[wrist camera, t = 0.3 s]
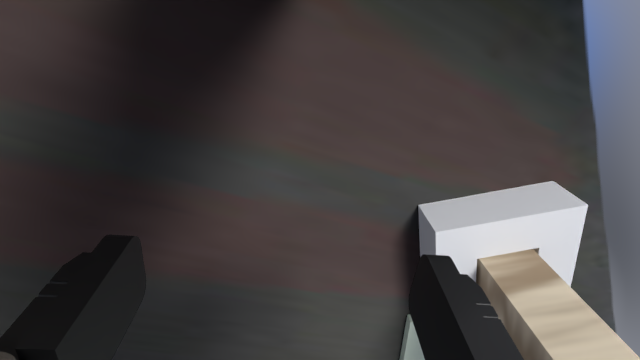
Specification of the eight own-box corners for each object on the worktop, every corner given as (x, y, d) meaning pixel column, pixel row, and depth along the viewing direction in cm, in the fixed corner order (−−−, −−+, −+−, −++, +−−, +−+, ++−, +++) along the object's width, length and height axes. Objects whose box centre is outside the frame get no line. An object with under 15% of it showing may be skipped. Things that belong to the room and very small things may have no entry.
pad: (407, 314, 37) (410, 322, 36) (521, 308, 38) (526, 315, 37) (394, 390, 42) (396, 399, 41) (494, 383, 43) (498, 391, 42)
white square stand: (418, 205, 31) (435, 232, 27) (553, 180, 31) (588, 204, 27) (421, 304, 36) (436, 337, 33) (536, 283, 36) (564, 314, 33)
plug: (455, 229, 32) (605, 435, 17) (511, 219, 32) (709, 416, 17) (455, 272, 35) (587, 487, 19) (506, 263, 35) (678, 470, 20)
